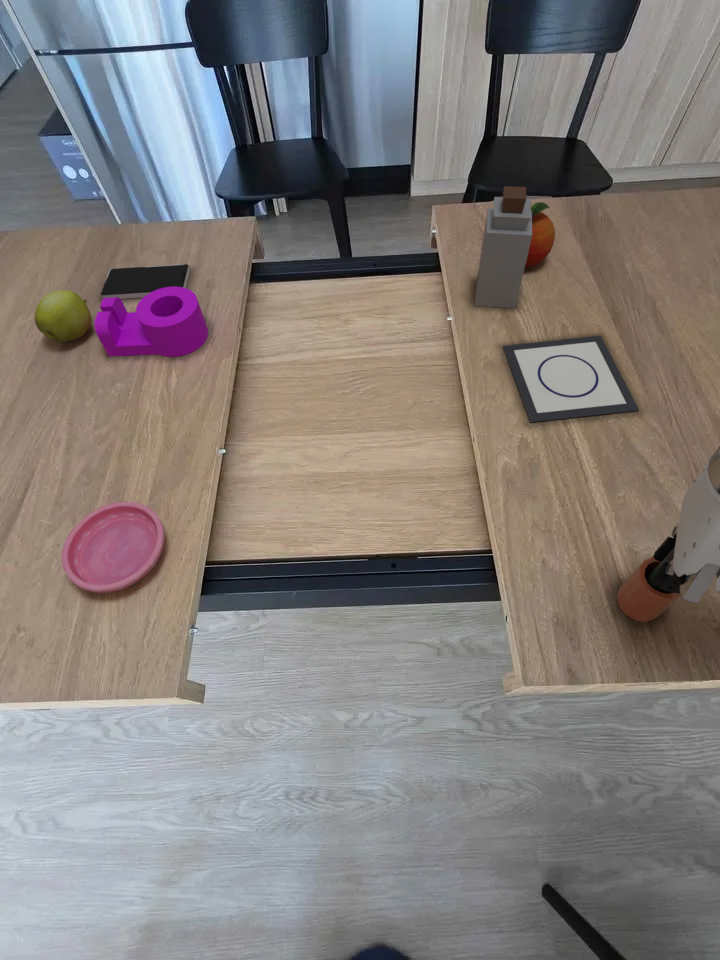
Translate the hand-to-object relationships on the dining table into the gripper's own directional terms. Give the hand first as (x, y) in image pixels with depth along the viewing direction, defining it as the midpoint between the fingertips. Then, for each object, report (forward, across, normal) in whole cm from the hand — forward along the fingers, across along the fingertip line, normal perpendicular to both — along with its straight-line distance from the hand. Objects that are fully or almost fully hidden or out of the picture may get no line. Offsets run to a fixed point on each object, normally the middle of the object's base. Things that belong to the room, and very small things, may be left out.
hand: (667, 573), depth 58 cm
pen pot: (+8, 0, 0) cm, 8 cm away
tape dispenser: (+8, +17, +80) cm, 83 cm away
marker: (+8, 0, 0) cm, 8 cm away
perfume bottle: (+8, +48, +31) cm, 58 cm away
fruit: (+8, +59, +30) cm, 67 cm away
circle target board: (+8, +33, +15) cm, 37 cm away
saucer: (+8, -19, +61) cm, 64 cm away
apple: (+8, +12, +95) cm, 96 cm away
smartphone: (+8, +28, +91) cm, 96 cm away
